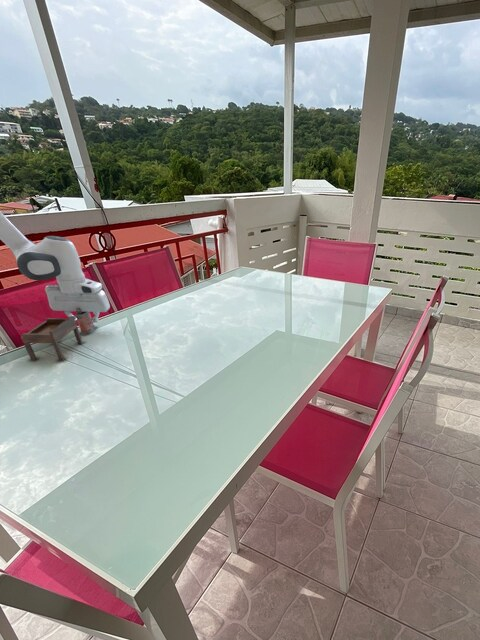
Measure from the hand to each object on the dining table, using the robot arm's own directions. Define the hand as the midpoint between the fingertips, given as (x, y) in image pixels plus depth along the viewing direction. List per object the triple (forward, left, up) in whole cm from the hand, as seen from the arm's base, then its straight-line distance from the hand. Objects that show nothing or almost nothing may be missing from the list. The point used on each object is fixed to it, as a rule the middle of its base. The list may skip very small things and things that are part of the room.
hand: (85, 321), depth 127 cm
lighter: (0, 0, -4) cm, 4 cm away
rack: (-2, -18, -4) cm, 18 cm away
